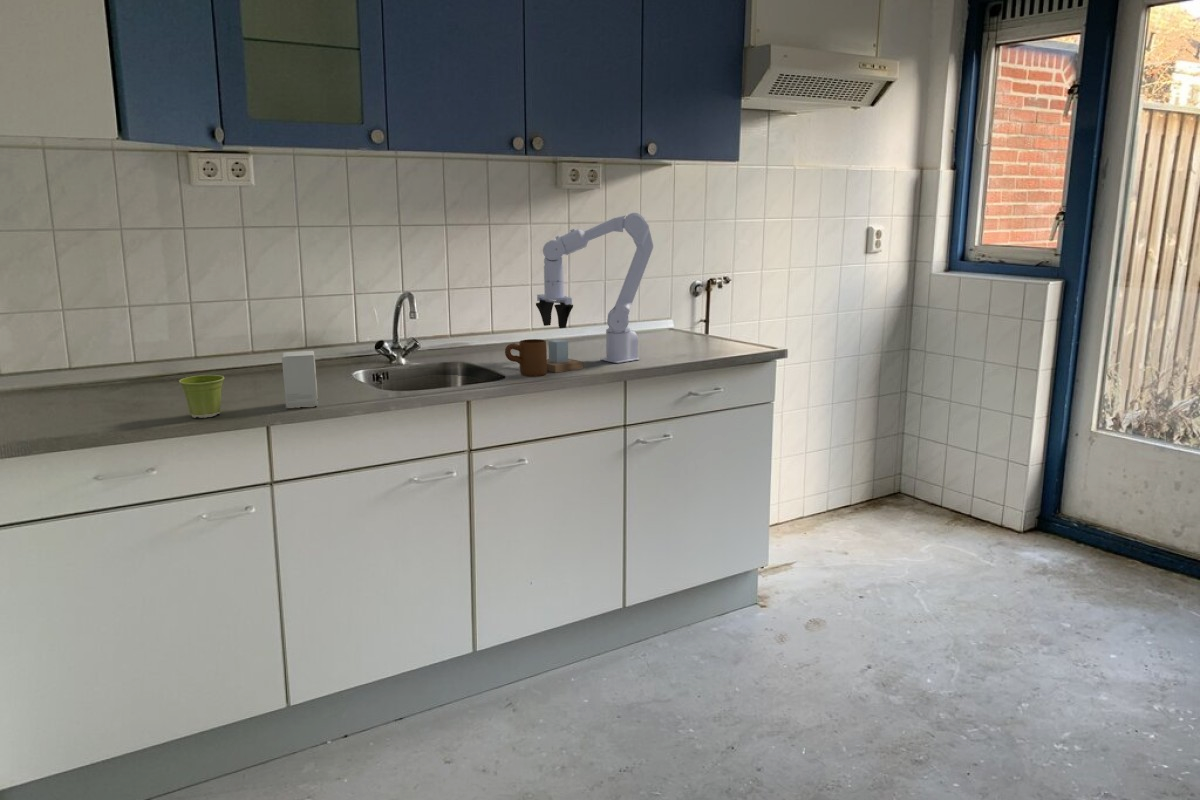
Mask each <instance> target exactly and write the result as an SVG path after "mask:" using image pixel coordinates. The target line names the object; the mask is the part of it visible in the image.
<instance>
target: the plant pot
mask: <svg viewBox="0 0 1200 800" xmlns="http://www.w3.org/2000/svg"><path fill="white" fill-rule="evenodd" d="M224 380H225V377H224V375H219V374H217V375H216V374H202V375H200V374H199V375H194V376H188V377H184V378H181V379H179V380H178V382H179V384H180V385H181V387H182V389H183V391H184V395H185V398H186V402H187V406H188V409H189V413H190V414H189V415H191V414H193V415H205V414H213V413H217V412H220V413H221V402H222V401H221V399H222V387H223V381H224Z"/></svg>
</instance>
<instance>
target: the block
mask: <svg viewBox="0 0 1200 800" xmlns="http://www.w3.org/2000/svg"><path fill="white" fill-rule="evenodd" d="M548 359H549V362H554V363H562V362H568V359H569V340H566V339H565V340H564V339H553V340H552V339H551V340H548Z"/></svg>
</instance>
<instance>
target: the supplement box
mask: <svg viewBox="0 0 1200 800" xmlns="http://www.w3.org/2000/svg"><path fill="white" fill-rule="evenodd" d="M281 364H282V376H283V387H284V388H283V389H284V401H285V407H286V406H291V405H303V404H318V401H317V399H318V384H317V383H318V382H317V372H316V370H317V369H316V368H317V367H316V356H315V351H314V350H303V351H287V352H282V355H281Z"/></svg>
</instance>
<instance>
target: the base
mask: <svg viewBox="0 0 1200 800" xmlns="http://www.w3.org/2000/svg"><path fill="white" fill-rule="evenodd" d="M582 368H583V369H584V361H581V360H578V359H573V358H568V362H562V363H554V362H549V358H547V372H550V373H554V372H555V373H554V374H556V373H563V371H564V372H569V370H570V371H576V370H582Z"/></svg>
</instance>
